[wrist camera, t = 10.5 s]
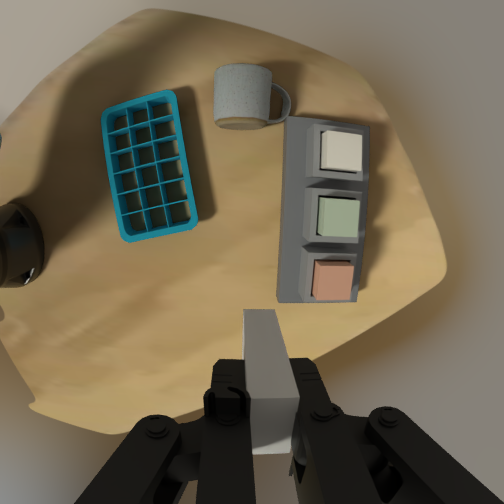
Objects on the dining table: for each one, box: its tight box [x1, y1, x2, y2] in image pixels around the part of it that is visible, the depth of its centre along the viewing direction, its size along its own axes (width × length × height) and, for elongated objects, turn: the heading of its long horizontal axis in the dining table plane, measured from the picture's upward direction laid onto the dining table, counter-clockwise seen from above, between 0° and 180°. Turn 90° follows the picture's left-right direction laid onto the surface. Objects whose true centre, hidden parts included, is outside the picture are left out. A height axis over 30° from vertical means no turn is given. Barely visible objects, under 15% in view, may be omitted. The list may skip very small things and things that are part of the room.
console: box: [276, 116, 370, 303], centre depth 39 cm, size 12×26×7 cm, turn 178°
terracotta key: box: [311, 259, 354, 300], centre depth 38 cm, size 4×4×4 cm
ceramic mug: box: [214, 63, 291, 130], centre depth 35 cm, size 11×8×8 cm
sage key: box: [316, 197, 360, 237], centre depth 36 cm, size 4×4×4 cm
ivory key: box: [319, 130, 362, 172], centre depth 34 cm, size 4×4×4 cm
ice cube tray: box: [101, 90, 198, 243], centre depth 39 cm, size 12×20×3 cm, turn 10°
